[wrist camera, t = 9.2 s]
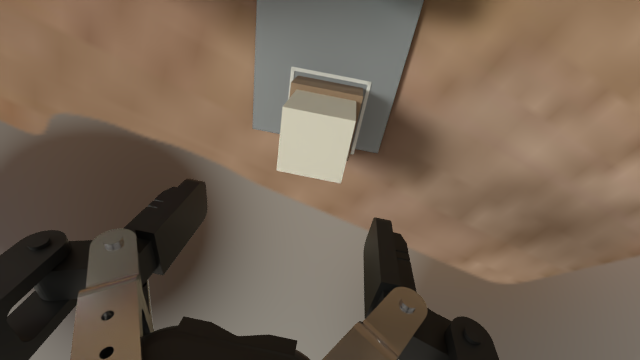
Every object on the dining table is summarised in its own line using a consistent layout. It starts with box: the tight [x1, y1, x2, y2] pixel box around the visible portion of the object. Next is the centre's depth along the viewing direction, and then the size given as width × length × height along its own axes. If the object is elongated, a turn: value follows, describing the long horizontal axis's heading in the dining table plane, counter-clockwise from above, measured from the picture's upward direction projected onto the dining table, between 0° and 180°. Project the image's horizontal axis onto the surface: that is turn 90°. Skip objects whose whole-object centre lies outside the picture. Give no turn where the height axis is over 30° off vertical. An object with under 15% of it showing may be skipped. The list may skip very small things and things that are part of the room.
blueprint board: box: [253, 0, 424, 154], centre depth 24 cm, size 18×13×1 cm
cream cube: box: [277, 89, 356, 183], centre depth 22 cm, size 5×5×5 cm
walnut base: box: [289, 76, 363, 161], centre depth 25 cm, size 6×6×3 cm
